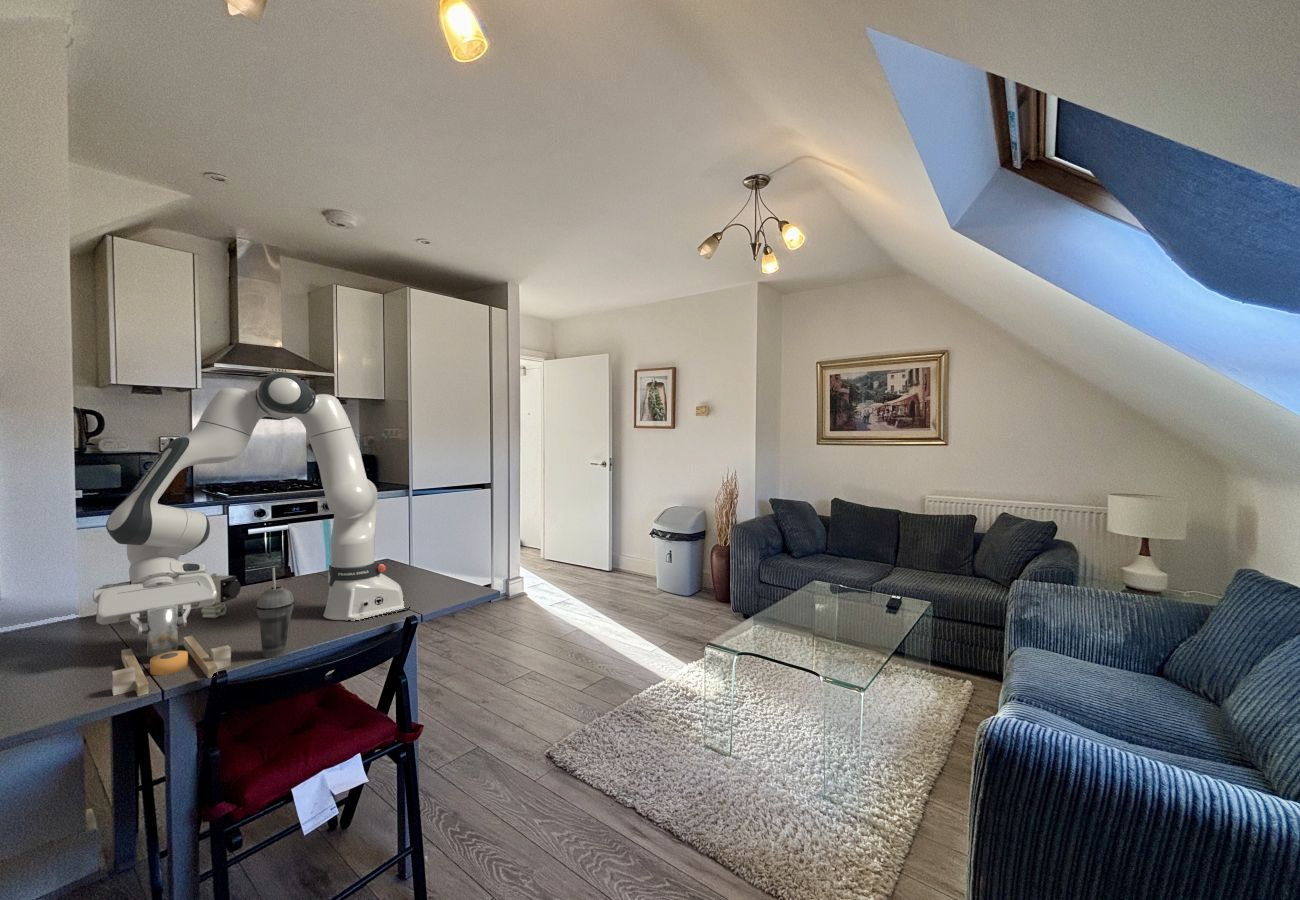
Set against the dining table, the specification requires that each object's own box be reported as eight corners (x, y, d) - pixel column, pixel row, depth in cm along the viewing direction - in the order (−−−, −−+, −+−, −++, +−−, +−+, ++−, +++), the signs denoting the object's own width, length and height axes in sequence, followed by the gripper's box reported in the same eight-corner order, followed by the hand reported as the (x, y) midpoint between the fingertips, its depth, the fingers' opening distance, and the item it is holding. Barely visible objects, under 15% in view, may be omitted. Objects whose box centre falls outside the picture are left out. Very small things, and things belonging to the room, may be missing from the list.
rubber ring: (189, 661, 116) (189, 647, 116) (185, 671, 112) (185, 657, 112) (152, 668, 113) (152, 653, 113) (147, 678, 108) (147, 663, 108)
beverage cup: (264, 663, 116) (264, 573, 116) (249, 655, 120) (250, 569, 120) (300, 652, 122) (300, 567, 122) (285, 645, 126) (286, 563, 126)
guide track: (207, 640, 128) (207, 624, 128) (235, 670, 112) (235, 652, 112) (102, 663, 115) (102, 645, 115) (115, 702, 98) (115, 681, 98)
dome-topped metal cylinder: (179, 646, 121) (179, 603, 121) (175, 653, 117) (175, 609, 117) (149, 650, 118) (150, 606, 118) (145, 658, 114) (145, 613, 114)
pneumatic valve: (227, 619, 143) (227, 576, 143) (185, 618, 144) (186, 575, 144) (243, 613, 149) (243, 571, 149) (203, 612, 149) (203, 570, 149)
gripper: (93, 578, 114) (97, 634, 108) (213, 563, 130) (222, 610, 123) (91, 594, 117) (95, 649, 111) (208, 577, 133) (217, 625, 126)
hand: (163, 629), depth 117 cm, fingers closed on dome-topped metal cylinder, 5 cm apart
